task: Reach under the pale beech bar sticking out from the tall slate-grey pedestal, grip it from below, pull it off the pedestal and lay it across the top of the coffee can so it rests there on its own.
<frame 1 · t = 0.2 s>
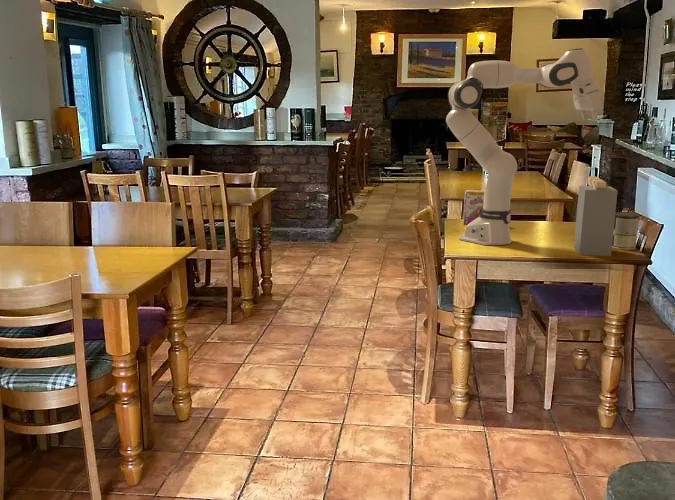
hand: (590, 120, 278), 52 cm above the table, tool tilted 20°, fingers open, 8 cm apart
beech bar: (595, 186, 269), point 26 cm above the table, touching pedestal
candy bar box: (474, 224, 327), on the table
pedestal: (591, 251, 271), on the table
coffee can: (622, 247, 280), on the table
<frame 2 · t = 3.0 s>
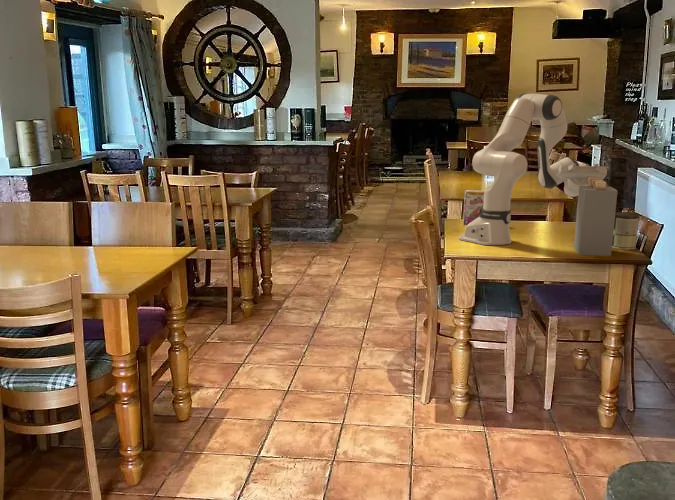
hand: (585, 165, 289), 32 cm above the table, tool pointing upward, fingers open, 8 cm apart
nothing on the table moved.
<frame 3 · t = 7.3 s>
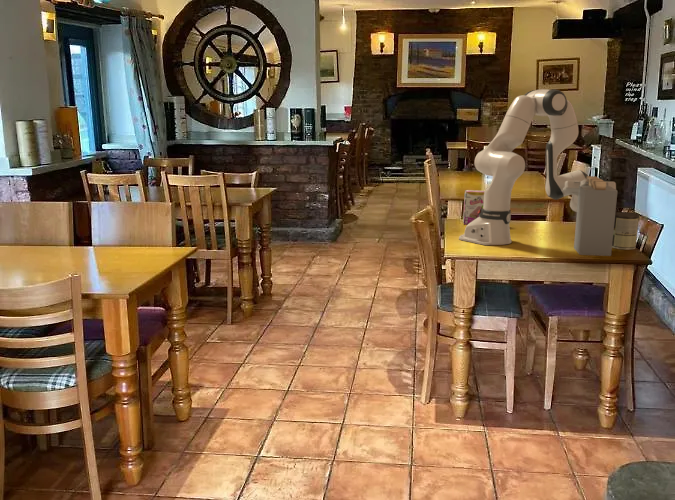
hand: (593, 180, 273), 28 cm above the table, tool pointing upward, fingers closed on beech bar, 4 cm apart
beech bar: (595, 186, 269), point 26 cm above the table, touching gripper
everything else where it was.
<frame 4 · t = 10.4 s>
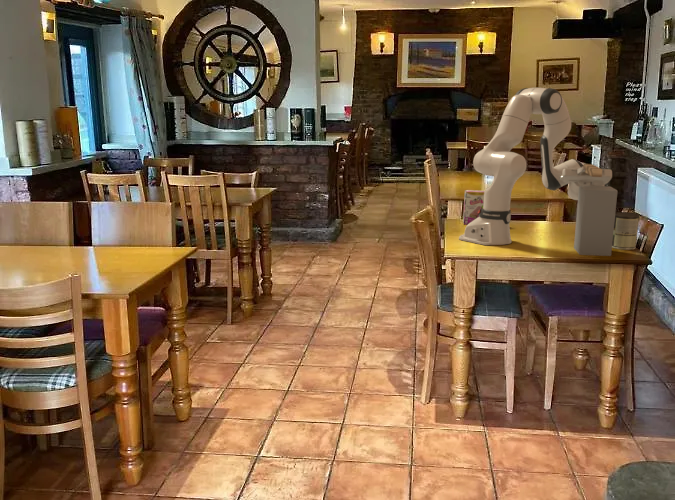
hand: (590, 167, 280), 32 cm above the table, tool pointing upward, fingers closed on beech bar, 3 cm apart
beech bar: (591, 173, 277), point 30 cm above the table, touching gripper
everything else where it was.
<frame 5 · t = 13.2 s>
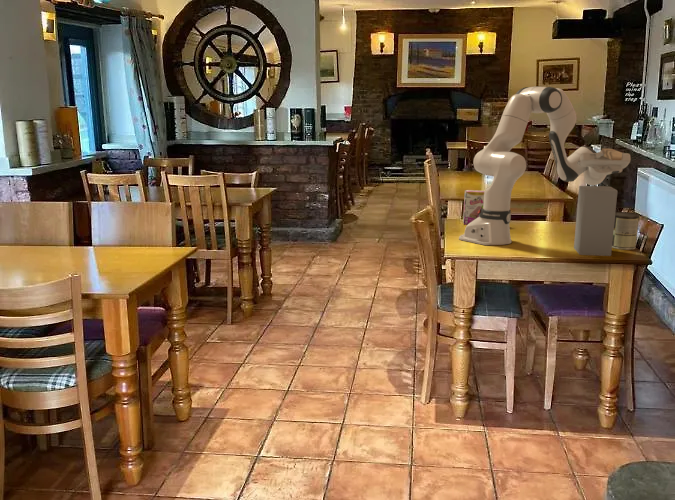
hand: (609, 152, 280), 39 cm above the table, tool pointing upward, fingers closed on beech bar, 3 cm apart
beech bar: (610, 157, 276), point 37 cm above the table, touching gripper
everything else where it was.
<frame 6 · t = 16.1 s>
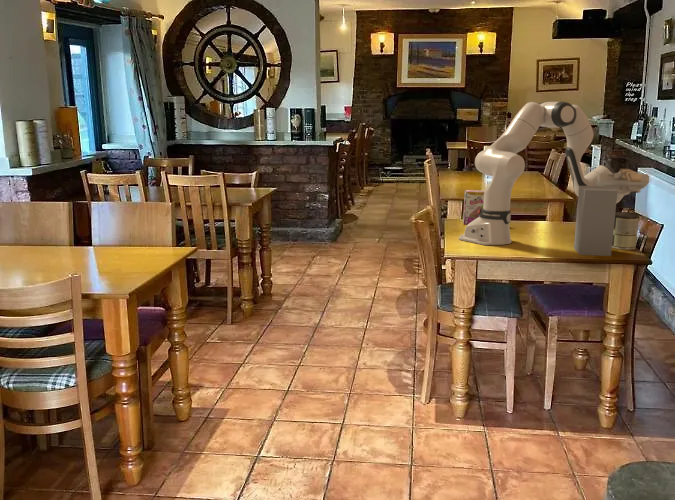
hand: (627, 172, 277), 31 cm above the table, tool pointing upward, fingers closed on beech bar, 3 cm apart
beech bar: (629, 178, 273), point 29 cm above the table, touching gripper
everything else where it was.
when the fingers open (21 cm above the table, at t = 18.6 s): beech bar drops 5 cm, resting on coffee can.
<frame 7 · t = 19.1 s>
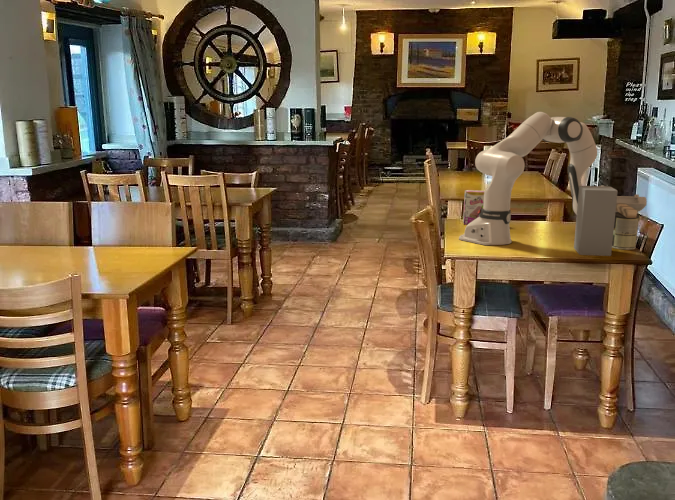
hand: (625, 195, 279), 21 cm above the table, tool pointing upward, fingers open, 8 cm apart
beech bar: (625, 213, 277), point 14 cm above the table, touching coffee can
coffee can: (622, 247, 280), on the table, touching beech bar
everything else where it was.
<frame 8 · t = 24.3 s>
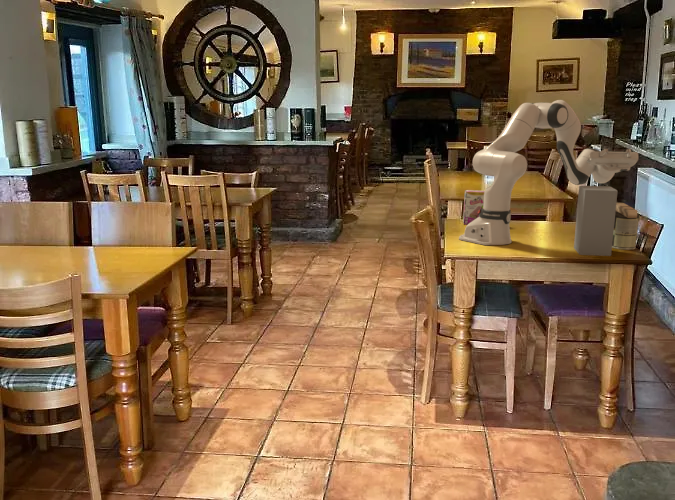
hand: (617, 150, 290), 38 cm above the table, tool pointing upward, fingers open, 8 cm apart
nothing on the table moved.
at the end: beech bar inside the target area on the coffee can (0.5 cm from its centre), point 14.3 cm above the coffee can's base; beech bar touching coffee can; the gripper is holding nothing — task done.
